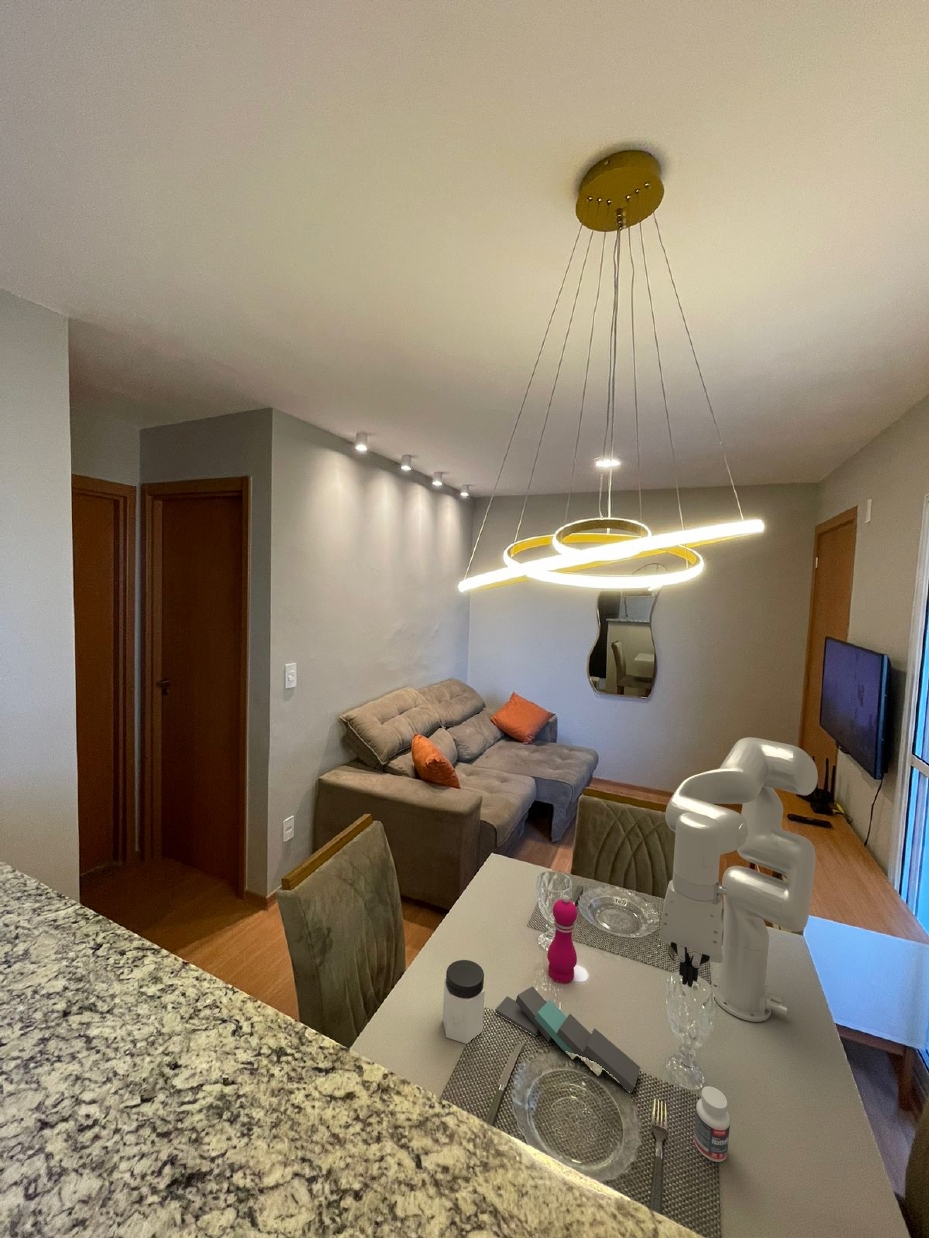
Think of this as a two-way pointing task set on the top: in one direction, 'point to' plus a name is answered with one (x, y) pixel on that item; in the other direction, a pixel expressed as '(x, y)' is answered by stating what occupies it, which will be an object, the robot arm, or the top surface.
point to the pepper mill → (563, 942)
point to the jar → (463, 1001)
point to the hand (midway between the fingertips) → (688, 981)
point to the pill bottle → (712, 1125)
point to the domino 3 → (552, 1022)
